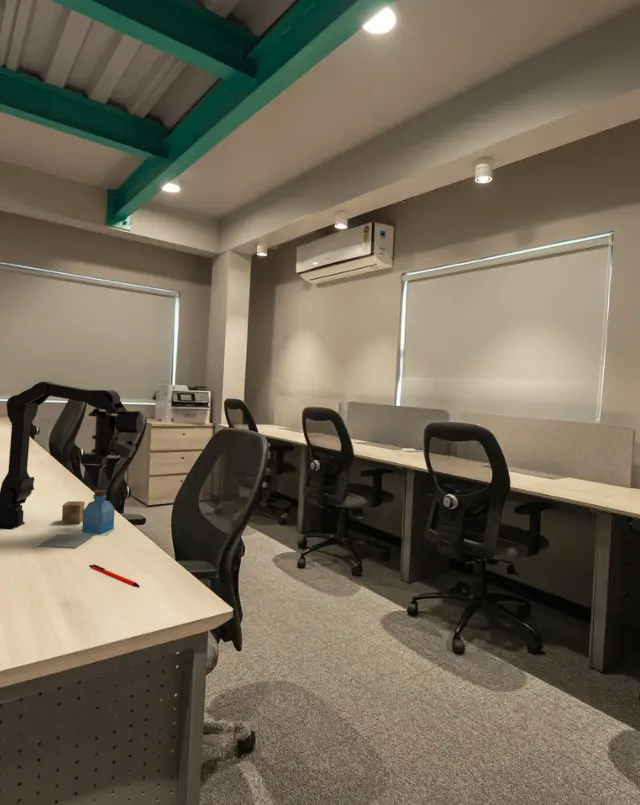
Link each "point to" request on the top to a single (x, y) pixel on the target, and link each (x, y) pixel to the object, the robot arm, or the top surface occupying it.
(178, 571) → the top surface
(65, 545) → the slate coaster
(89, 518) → the perfume bottle
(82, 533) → the code mat
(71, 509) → the walnut block
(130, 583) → the pen
